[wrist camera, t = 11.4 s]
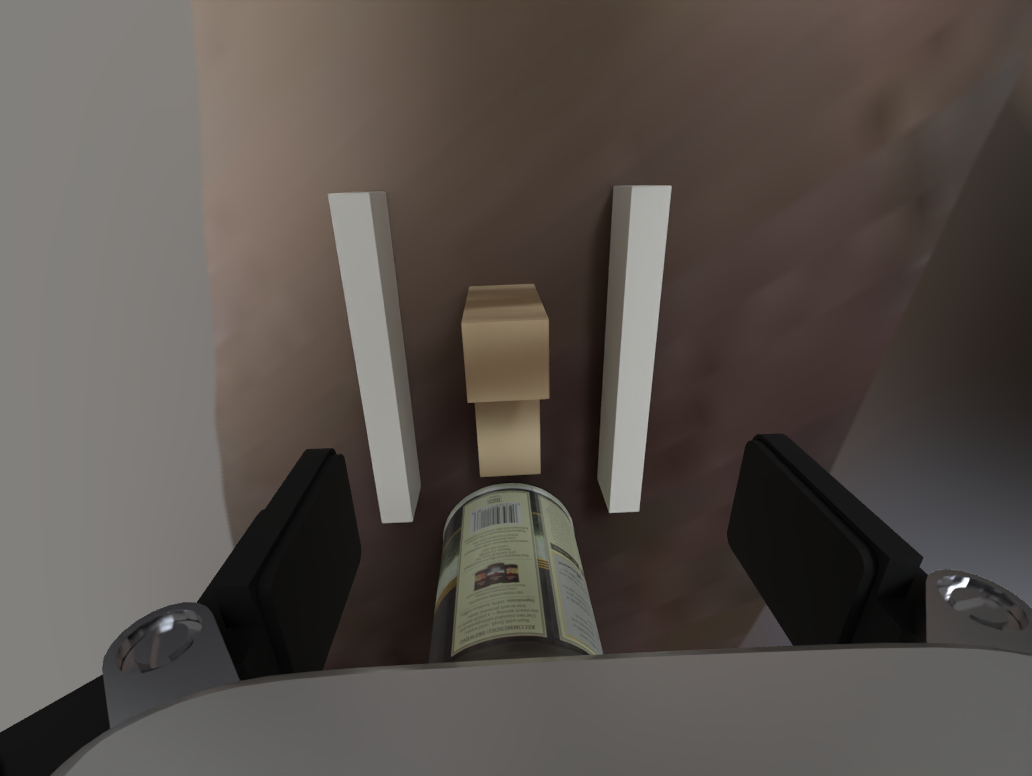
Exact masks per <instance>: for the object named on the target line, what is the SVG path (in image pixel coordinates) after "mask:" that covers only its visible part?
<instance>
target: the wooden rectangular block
mask: <svg viewBox="0 0 1032 776" xmlns="http://www.w3.org/2000/svg"><path fill="white" fill-rule="evenodd" d="M461 326H462V339H463V351H464V363H465V376H466V388H467V401H468V403H475V412H476V426H477V440H478V453H479V467H480V477H490V476H509V475H527V474H541V467H540V399H549V319H548V316H547V314H546V312H545V309H544V307H543V304H542V302H541V300H540V297H539V295H538V292H537V290H536V287H535V285H534V284H515V285H491V286H469V290H468V294H467V299H466V304H465V308H464V313H463V318H462V322H461Z"/></svg>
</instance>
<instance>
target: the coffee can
mask: <svg viewBox="0 0 1032 776" xmlns="http://www.w3.org/2000/svg"><path fill="white" fill-rule="evenodd" d="M601 654H603V652H602V647H601V643H600V639H599V635H598V631H597V627H596V622H595V618H594V614H593V610H592V606H591V602H590V598H589V594H588V589H587V585H586V581H585V577H584V573H583V569H582V564H581V560H580V556H579V552H578V548H577V544H576V539H575V535H574V527H573V523H572V519H571V517H570V515H569V513H568V511H567V509H566V508H565V507H564V506H563V504H562V503H561V502H560V501H559V500H558V499H557V498H555V497H554V496H553V495H551V494H550V493H548V492H546V491H545V490H543V489H540V488H538V487H535V486H532V485H527V484H521V483H502V484H495V485H491V486H487V487H484V488H481V489H479V490H477V491H475V492H473V493H471V494H470V495H468V496H466V497H465V498H464V499H462V500H461V501H460V502H459V503H458V504H457V505H456V506H455V508H454V509H453V510H452V511H451V513H450V515H449V517H448V519H447V521H446V524H445V527H444V532H443V550H442V558H441V566H440V573H439V581H438V589H437V596H436V605H435V613H434V620H433V627H432V635H431V643H430V650H429V659H428V664H430V663H448V662H466V661H485V660H503V659H521V658H540V657H560V656H581V655H601Z"/></svg>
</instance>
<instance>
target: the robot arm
mask: <svg viewBox="0 0 1032 776" xmlns="http://www.w3.org/2000/svg"><path fill="white" fill-rule="evenodd" d="M727 538H728V542H729V545H730V547H731V549H732V551H733V552H734V554H735V555H736V557H737V558H738V560H739V562H740V563H741V565H742V566H743V568H744V569H745V571H746V573H747V574H748V576H749V577H750V579H751V580H752V582H753V584H754V585H755V587H756V588H757V590H758V591H759V593H760V595H761V596H762V598H763V599H764V601H765V602H766V604H767V606H768V607H769V608H770V610H771V612H772V613H773V615H774V616H775V618H776V620H777V621H778V623H779V624H780V626H781V627H782V629H783V631H784V632H785V634H786V635H787V637H788V638H789V640H790V641H791V643H792V645H793V646H777V647H755V648H730V649H707V650H684V651H663V652H642V653H621V654H601V655H581V656H560V657H540V658H521V659H503V660H485V661H466V662H448V663H430V664H412V665H395V666H380V667H365V668H351V669H336V670H324V671H322V670H323V667H324V664H325V662H326V659H327V656H328V653H329V650H330V647H331V644H332V641H333V638H334V635H335V633H336V630H337V627H338V624H339V621H340V618H341V615H342V612H343V609H344V606H345V603H346V601H347V598H348V595H349V592H350V589H351V586H352V583H353V580H354V577H355V574H356V572H357V569H358V566H359V563H360V558H361V544H360V539H359V533H358V528H357V523H356V517H355V512H354V507H353V501H352V496H351V490H350V485H349V480H348V474H347V469H346V463H345V459H344V456H343V455H342V454H336V452H335V450H334V449H333V448H327V449H307V450H305V452H304V453H303V454H302V456H301V457H300V459H299V460H298V462H297V463H296V465H295V466H294V467H293V469H292V470H291V472H290V473H289V475H288V476H287V478H286V479H285V481H284V482H283V484H282V485H281V487H280V488H279V489H278V491H277V492H276V494H275V495H274V497H273V498H272V500H271V501H270V503H269V504H268V506H267V507H266V509H264V510H262V511H261V512H260V513H259V514H258V515H257V516H256V518H255V519H254V521H253V522H252V524H251V525H250V526H249V528H248V529H247V531H246V532H245V534H244V535H243V537H242V538H241V539H240V541H239V542H238V544H237V545H236V547H235V548H234V550H233V551H232V553H231V554H230V555H229V557H228V558H227V560H226V561H225V563H224V564H223V566H222V567H221V568H220V570H219V571H218V573H217V574H216V576H215V577H214V578H213V580H212V581H211V583H210V584H209V586H208V587H207V589H206V590H205V591H204V593H203V594H202V596H201V597H200V599H199V600H198V601H197V603H192V602H183V603H178V604H174V605H169V606H167V607H164V608H161V609H158V610H156V611H153V612H151V613H150V614H148V615H146V616H144V617H143V618H141V619H139V620H137V621H136V622H135V623H133V624H132V625H131V626H130V627H128V628H127V629H126V630H124V631H123V632H122V633H121V634H120V635H119V637H118V638H117V639H116V640H115V641H114V642H113V643H112V644H111V646H110V647H109V649H108V651H107V653H106V655H105V656H104V660H103V667H102V671H103V675H101V676H99V677H97V678H96V679H94V680H92V681H91V682H89V683H87V684H85V685H83V686H82V687H80V688H78V689H76V690H75V691H73V692H71V693H69V694H68V695H66V696H64V697H62V698H60V699H59V700H57V701H55V702H53V703H52V704H50V705H48V706H46V707H45V708H43V709H41V710H39V711H37V712H36V713H34V714H32V715H30V716H29V717H27V718H25V719H24V720H21V721H20V722H18V723H16V724H14V725H13V726H11V727H9V728H7V729H6V730H4V731H2V732H0V776H1032V608H1031V607H1030V606H1029V605H1028V604H1027V603H1026V602H1025V601H1023V600H1022V599H1020V598H1019V597H1018V596H1016V595H1015V594H1014V593H1012V592H1011V591H1009V590H1007V589H1005V588H1004V587H1002V586H1000V585H998V584H997V583H995V582H993V581H990V580H988V579H985V578H982V577H980V576H978V575H975V574H971V573H968V572H964V571H959V570H951V569H943V570H935V571H934V572H932V573H930V574H928V575H927V574H926V573H925V572H924V571H923V570H922V569H921V568H920V567H919V566H920V564H921V562H922V559H923V557H922V556H921V555H920V554H919V553H918V552H917V551H916V550H915V549H913V548H912V547H911V546H910V545H909V544H908V543H906V541H904V540H903V539H902V538H901V537H900V536H899V535H898V534H897V533H895V532H894V531H893V530H892V529H891V528H890V527H889V526H888V525H886V524H885V523H884V522H883V521H882V520H881V519H880V518H879V517H877V516H876V515H875V514H874V513H873V512H872V511H871V510H870V509H868V508H867V507H866V506H865V505H864V504H862V502H861V501H859V500H858V499H857V498H856V497H855V496H854V495H853V494H852V493H850V492H849V491H848V490H847V489H846V488H845V487H844V486H843V485H841V484H840V483H839V482H838V481H837V480H836V479H835V478H834V477H832V476H831V475H830V474H829V473H828V472H827V471H826V470H825V469H823V468H822V467H821V466H820V465H819V464H818V463H817V462H816V461H814V460H813V459H812V458H811V457H810V456H809V455H808V454H807V453H805V452H804V451H803V450H802V449H801V448H800V447H799V446H797V445H796V444H795V443H794V442H793V441H792V440H791V439H790V438H788V437H787V436H786V435H784V434H758V435H756V436H755V437H754V438H753V440H752V441H748V442H747V444H746V446H745V451H744V455H743V460H742V465H741V469H740V474H739V479H738V483H737V488H736V493H735V498H734V502H733V507H732V512H731V516H730V521H729V526H728V531H727Z"/></svg>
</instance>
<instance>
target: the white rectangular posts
mask: <svg viewBox="0 0 1032 776" xmlns="http://www.w3.org/2000/svg"><path fill="white" fill-rule="evenodd" d="M671 188H672V186H664V185H631V186H613V203H612V221H611V239H610V257H609V275H608V293H607V311H606V329H605V347H604V365H603V383H602V401H601V419H600V437H599V455H598V473H597V479H598V482H599V485H600V488H601V491H602V494H603V496H604V499H605V502H606V505H607V508H608V511H609V513H617V512H639V507H640V497H641V487H642V477H643V467H644V457H645V447H646V437H647V427H648V417H649V407H650V397H651V387H652V377H653V367H654V357H655V347H656V337H657V327H658V317H659V307H660V297H661V287H662V277H663V267H664V257H665V247H666V237H667V227H668V218H669V208H670V198H671ZM328 199H329V205H330V211H331V217H332V223H333V229H334V235H335V241H336V248H337V254H338V260H339V266H340V272H341V278H342V284H343V290H344V296H345V302H346V308H347V314H348V320H349V326H350V332H351V338H352V345H353V351H354V357H355V363H356V369H357V375H358V381H359V387H360V393H361V399H362V405H363V411H364V417H365V423H366V429H367V436H368V442H369V448H370V454H371V460H372V466H373V472H374V478H375V484H376V490H377V496H378V502H379V508H380V514H381V520H382V523H399V522H413V518H414V514H415V510H416V506H417V501H418V497H419V493H420V489H421V481H420V473H419V465H418V456H417V448H416V440H415V431H414V423H413V415H412V406H411V398H410V390H409V381H408V373H407V365H406V356H405V348H404V340H403V331H402V323H401V315H400V306H399V298H398V289H397V281H396V273H395V264H394V256H393V248H392V239H391V231H390V223H389V214H388V206H387V198H386V191H374V192H344V193H331V194H328Z"/></svg>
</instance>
